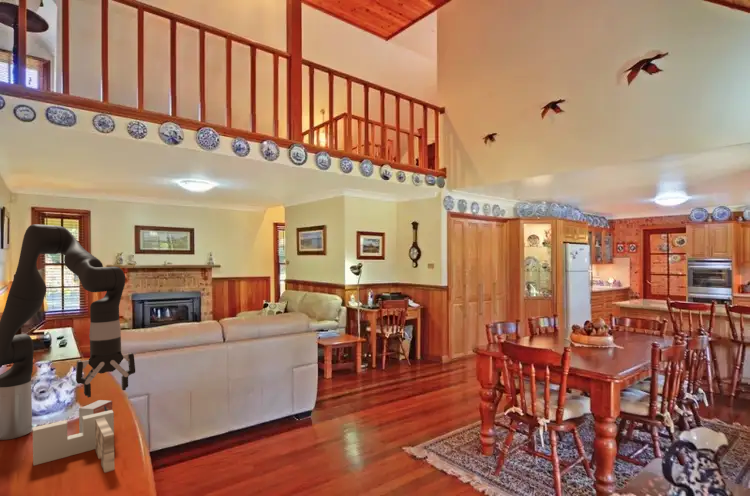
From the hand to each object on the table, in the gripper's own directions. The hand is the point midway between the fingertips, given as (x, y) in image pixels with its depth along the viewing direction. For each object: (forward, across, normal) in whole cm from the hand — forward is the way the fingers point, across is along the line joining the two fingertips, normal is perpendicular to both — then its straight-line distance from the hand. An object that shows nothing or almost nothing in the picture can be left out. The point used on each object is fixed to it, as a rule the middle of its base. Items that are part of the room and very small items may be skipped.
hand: (106, 393), depth 121 cm
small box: (+21, 0, +26) cm, 33 cm away
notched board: (+20, -6, +16) cm, 27 cm away
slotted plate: (+21, 0, +4) cm, 21 cm away
